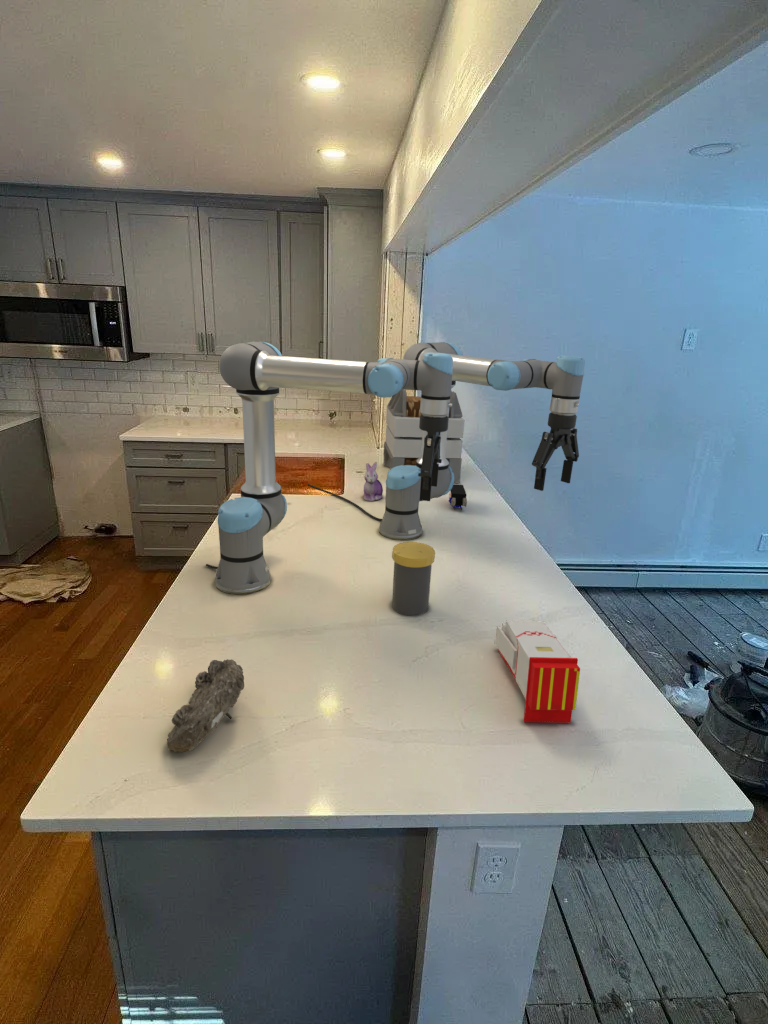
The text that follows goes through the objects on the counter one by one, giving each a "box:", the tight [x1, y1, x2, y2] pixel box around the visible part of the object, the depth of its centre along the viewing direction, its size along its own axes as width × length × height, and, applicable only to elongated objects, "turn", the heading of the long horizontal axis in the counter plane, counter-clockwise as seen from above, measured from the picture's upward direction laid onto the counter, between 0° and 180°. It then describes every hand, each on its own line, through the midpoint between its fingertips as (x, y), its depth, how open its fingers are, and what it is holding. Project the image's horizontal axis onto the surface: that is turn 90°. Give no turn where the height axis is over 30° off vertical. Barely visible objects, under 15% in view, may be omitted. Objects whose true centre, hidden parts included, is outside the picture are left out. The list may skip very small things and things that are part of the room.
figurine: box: [362, 461, 384, 502], centre depth 233 cm, size 9×10×15 cm
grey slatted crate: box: [383, 389, 465, 484], centre depth 268 cm, size 34×33×41 cm
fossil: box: [166, 658, 245, 754], centre depth 106 cm, size 22×10×15 cm
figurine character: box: [448, 483, 468, 511], centre depth 230 cm, size 7×8×15 cm
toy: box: [494, 619, 581, 724], centre depth 121 cm, size 12×13×30 cm
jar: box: [391, 560, 433, 617], centre depth 149 cm, size 10×10×16 cm
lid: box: [391, 541, 436, 568], centre depth 146 cm, size 11×11×2 cm
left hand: (428, 492), depth 154 cm, fingers open, 13 cm apart
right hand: (552, 485), depth 166 cm, fingers open, 13 cm apart
